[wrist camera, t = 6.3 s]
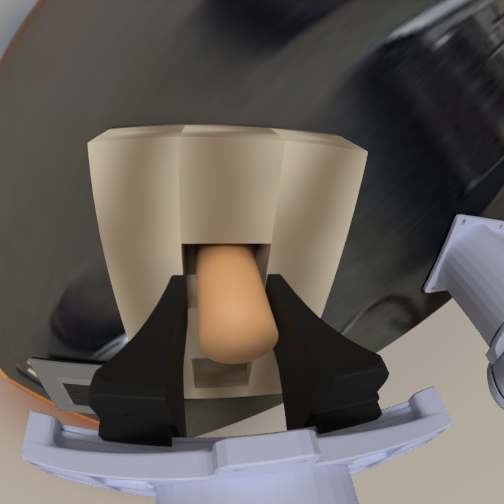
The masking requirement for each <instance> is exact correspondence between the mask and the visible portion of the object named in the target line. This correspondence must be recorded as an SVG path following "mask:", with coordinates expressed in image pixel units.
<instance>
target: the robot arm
mask: <svg viewBox="0 0 504 504" xmlns="http://www.w3.org/2000/svg"><path fill="white" fill-rule="evenodd" d="M423 290H424V291H425V293H430V292H438V291H445V290H447V291H448V292H449V293H450V294H451V296H452V297H453V298H454V299H455V301H456V302H457V303H458V304H459V306H460V307H461V308H462V310H463V311H464V312H465V314H466V315H467V316H468V317H469V319H470V320H471V322H472V323H473V324H474V326H475V327H476V329H477V330H478V331H479V333H480V334H481V336H482V337H483V339H484V340H485V341H486V343H487V344H488V346H489V347H490V349H489V351H488V352H487V353H486V357H487V358H488V360H489V361H490V363H489V365H488V368H487V379H488V385H489V389H490V392H491V394H492V396H493V398H494V400H495V401H496V403H497V404H498V405H499V406H500V407H501V408H502V409H503V410H504V221H501V220H494V219H488V218H482V217H475V216H468V215H461V214H458V215H457V216H456V217H455V218H454V221H453V223H452V226H451V228H450V231H449V233H448V236H447V238H446V240H445V243H444V245H443V247H442V250H441V252H440V254H439V256H438V259H437V261H436V263H435V265H434V267H433V269H432V271H431V274H430V276H429V278H428V280H427V282H426V284H425V286H424V288H423ZM265 292H266V295H267V298H268V301H269V305H270V308H271V311H272V314H273V317H274V321H275V324H276V327H277V330H278V341H277V343H276V345H275V346H274V347H273V350H274V354H275V357H276V361H277V365H278V370H279V376H280V382H281V388H282V394H283V401H284V409H285V416H286V426H287V431H281V432H273V433H265V434H256V435H244V436H232V437H210V438H187V436H186V423H185V407H184V378H183V368H184V355H185V346H186V336H187V327H188V303H187V290H186V275H172V276H171V277H170V280H169V282H168V285H167V287H166V289H165V291H164V293H163V295H162V296H161V298H160V300H159V302H158V303H157V305H156V307H155V308H154V310H153V311H152V313H151V314H150V316H149V317H148V319H147V320H146V322H145V323H144V324H143V326H142V327H141V328H140V329H139V331H138V332H137V333H136V334H135V335H134V337H133V338H132V339H131V340H130V341H129V342H128V343H127V344H126V345H125V346H124V347H123V348H122V349H121V350H120V351H119V352H118V353H117V354H116V355H115V356H114V357H113V358H111V359H110V360H109V361H108V362H106V363H105V364H104V365H102V366H101V367H100V368H99V369H97V370H96V371H95V373H94V375H93V378H92V381H91V384H90V388H89V393H88V399H87V403H88V404H89V406H90V408H91V409H92V410H93V411H94V412H95V414H96V415H97V416H98V417H99V418H100V424H99V431H97V430H91V429H85V428H80V427H74V426H69V425H65V424H61V422H60V421H59V420H58V419H57V418H55V417H54V416H51V415H48V414H44V413H40V412H37V411H30V415H29V419H28V424H27V428H26V433H25V438H24V444H23V450H22V456H21V457H22V458H23V459H24V460H26V461H28V462H29V463H31V464H33V465H34V466H36V467H38V468H40V469H42V470H44V471H45V472H47V473H49V474H52V475H55V476H59V477H62V478H65V479H69V480H72V481H76V482H80V483H83V484H87V485H91V486H95V487H100V488H104V489H109V490H114V491H119V492H124V493H130V494H136V495H143V496H151V497H156V504H359V503H358V499H357V496H356V492H355V489H354V486H353V482H352V479H351V475H352V474H355V473H358V472H361V471H364V470H367V469H369V468H372V467H374V466H377V465H379V464H382V463H384V462H386V461H389V460H391V459H394V458H396V457H398V456H400V455H403V454H405V453H407V452H409V451H411V450H414V449H416V448H418V447H420V446H422V445H424V444H426V443H428V442H429V441H430V440H432V439H433V438H435V437H436V436H437V435H439V434H440V433H441V432H443V431H444V430H446V429H447V428H448V427H449V426H451V425H452V421H451V419H450V417H449V414H448V413H447V410H446V409H445V406H444V404H443V402H442V400H441V398H440V396H439V394H438V392H437V390H436V388H435V387H434V386H432V387H430V388H427V389H424V390H422V391H419V392H417V393H416V394H414V395H413V396H412V397H411V398H410V399H409V401H407V402H404V403H401V404H398V405H395V406H392V407H389V408H386V409H383V410H381V409H380V407H379V404H378V402H377V401H378V400H379V395H378V393H377V391H378V390H379V389H380V388H381V386H382V385H383V384H384V383H385V381H386V380H387V378H388V375H389V372H388V370H387V367H386V365H385V363H384V361H383V359H382V358H381V356H380V355H378V354H376V353H374V352H372V351H370V350H367V349H365V348H363V347H361V346H360V345H358V344H356V343H354V342H352V341H351V340H349V339H348V338H346V337H344V336H343V335H341V334H340V333H339V332H337V331H336V330H334V329H333V328H332V327H330V326H329V325H328V324H327V323H325V322H324V321H323V320H322V319H321V318H319V317H318V316H317V315H316V314H315V313H314V312H313V311H312V310H311V309H310V308H309V307H308V306H307V305H306V304H305V303H304V302H303V300H302V299H301V298H300V297H299V296H298V295H297V294H296V293H295V291H294V290H293V289H292V288H291V287H290V285H289V284H288V283H287V282H286V280H285V279H284V278H283V277H282V276H281V274H268V275H267V281H266V288H265Z"/></svg>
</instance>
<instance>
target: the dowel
mask: <svg viewBox="0 0 504 504" xmlns="http://www.w3.org/2000/svg"><path fill="white" fill-rule="evenodd" d="M195 269H196V291H197V309H198V325H199V338H200V348H201V350H202V352H203V353H204V355H205V356H207V357H208V358H209V359H211V360H213V361H216V362H220V363H225V364H240V363H246V362H250V361H253V360H256V359H258V358H260V357H262V356H264V355H265V354H267V353H268V352H270V351H271V350H272V349H273V347H274V346H275V345H276V343H277V341H278V330H277V327H276V324H275V321H274V317H273V314H272V311H271V308H270V305H269V301H268V298H267V295H266V292H265V289H264V286H263V282H262V279H261V276H260V273H259V270H258V266H257V263H256V260H255V257H254V254H253V250H252V247H251V244H250V243H210V244H195Z"/></svg>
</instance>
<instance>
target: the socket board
mask: <svg viewBox="0 0 504 504" xmlns="http://www.w3.org/2000/svg"><path fill="white" fill-rule="evenodd" d="M88 154H89V164H90V173H91V181H92V189H93V196H94V202H95V209H96V215H97V220H98V226H99V231H100V236H101V241H102V246H103V250H104V255H105V259H106V264H107V268H108V272H109V276H110V280H111V284H112V287H113V291H114V295H115V298H116V302H117V305H118V309H119V312H120V315H121V318H122V322H123V325H124V328H125V331H126V334H127V337H128V340H129V341H130V340H131V339H132V338H133V337H134V335H135V334H136V333H137V332H138V331H139V329H140V328H141V327H142V326H143V324H144V323H145V322H146V320H147V319H148V317H149V316H150V314H151V313H152V311H153V310H154V308H155V307H156V305H157V303H158V302H159V300H160V298H161V296H162V295H163V293H164V291H165V289H166V287H167V285H168V282H169V280H170V277H171V276H172V275H186V290H187V303H188V327H187V336H186V346H185V355H184V368H183V378H184V398H186V399H192V398H229V397H246V396H259V395H269V394H279V393H282V388H281V382H280V376H279V370H278V365H277V361H276V357H275V354H274V350H273V349H272V350H271V351H270V352H268V353H267V354H265V355H264V356H262V357H260V358H258V359H256V360H253V361H250V362H246V363H240V364H225V363H220V362H216V361H213V360H211V359H209V358H208V357H207V356H205V355H204V353H203V352H202V350H201V348H200V338H199V325H198V309H197V291H196V269H195V244H210V243H250V244H251V247H252V250H253V254H254V257H255V260H256V263H257V266H258V270H259V273H260V276H261V279H262V282H263V286H264V289H265V288H266V281H267V275H268V274H281V276H282V277H283V278H284V279H285V280H286V282H287V283H288V284H289V285H290V287H291V288H292V289H293V290H294V291H295V293H296V294H297V295H298V296H299V297H300V298H301V299H302V300H303V302H304V303H305V304H306V305H307V306H308V307H309V308H310V309H311V310H312V311H313V312H314V313H315V314H316V315H317V316H318V317H319V318H321V315H322V313H323V310H324V307H325V304H326V301H327V298H328V295H329V292H330V289H331V286H332V283H333V280H334V277H335V274H336V271H337V268H338V264H339V261H340V258H341V255H342V251H343V248H344V244H345V241H346V238H347V234H348V231H349V227H350V223H351V220H352V216H353V212H354V208H355V205H356V201H357V197H358V193H359V189H360V185H361V180H362V176H363V172H364V168H365V163H366V159H367V154H368V152H367V151H366V150H364V149H362V148H360V147H359V146H357V145H355V144H353V143H351V142H350V141H348V140H346V139H344V138H342V137H340V136H339V135H335V134H328V133H321V132H314V131H306V130H298V129H289V128H278V127H267V126H253V125H235V124H154V125H136V126H123V127H112V128H111V129H109V130H107V131H106V132H104V133H102V134H101V135H99V136H98V137H96V138H94V139H93V140H91V141H90V142H88Z"/></svg>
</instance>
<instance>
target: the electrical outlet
mask: <svg viewBox="0 0 504 504" xmlns="http://www.w3.org/2000/svg"><path fill="white" fill-rule="evenodd" d="M29 362H30V364H31V366H32V368H33V370H34V371H35V373H36V375H37V377H38V378H39V380H40V382H41V383H42V385H43V387H44V388H45V390H46V391H47V393H48V394H49V396H50V398H51V399H52V401H53V402H54V404H55V405H56V407H57V408H58V409H59V410H61V411H69V412H78V413H89V414H95V412H94V411H93V410H92V409H91V408H90V406H89V404H88V403H87V399H88V393H89V388H90V384H91V381H92V378H93V375H94V373H95V371H96V370H97V369H99V368H100V367H101V366H102V365H104V364H103V363H88V362H75V361H64V360H55V359H46V358H38V357H32V358H29Z"/></svg>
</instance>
